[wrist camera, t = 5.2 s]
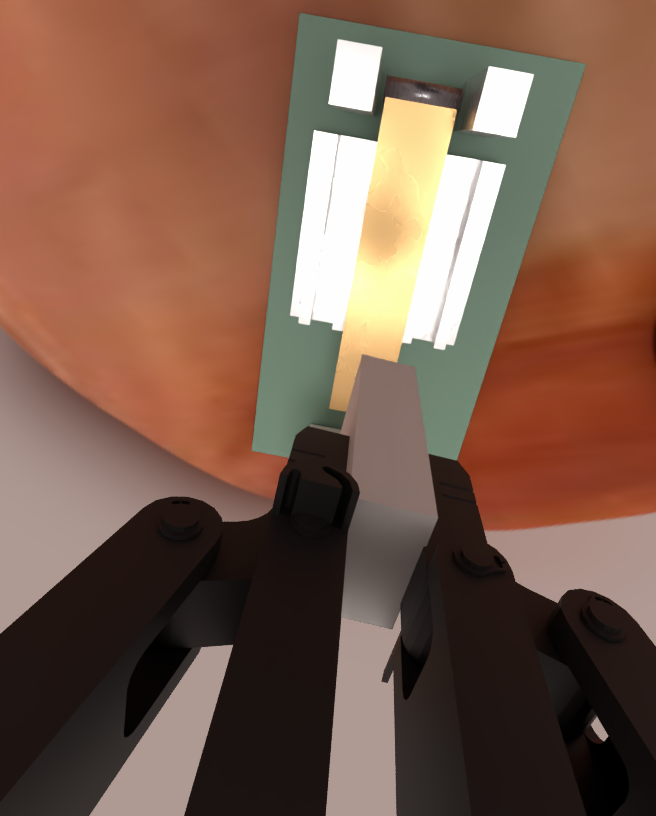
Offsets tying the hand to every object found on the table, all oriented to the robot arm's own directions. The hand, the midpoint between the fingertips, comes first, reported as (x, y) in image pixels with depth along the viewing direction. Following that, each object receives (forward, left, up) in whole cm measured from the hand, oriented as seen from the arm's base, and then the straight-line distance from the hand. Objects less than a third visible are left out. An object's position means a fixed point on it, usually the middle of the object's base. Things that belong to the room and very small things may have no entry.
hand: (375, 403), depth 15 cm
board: (+1, +1, -17) cm, 17 cm away
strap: (-1, 0, -13) cm, 13 cm away
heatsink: (-3, 0, -16) cm, 16 cm away
